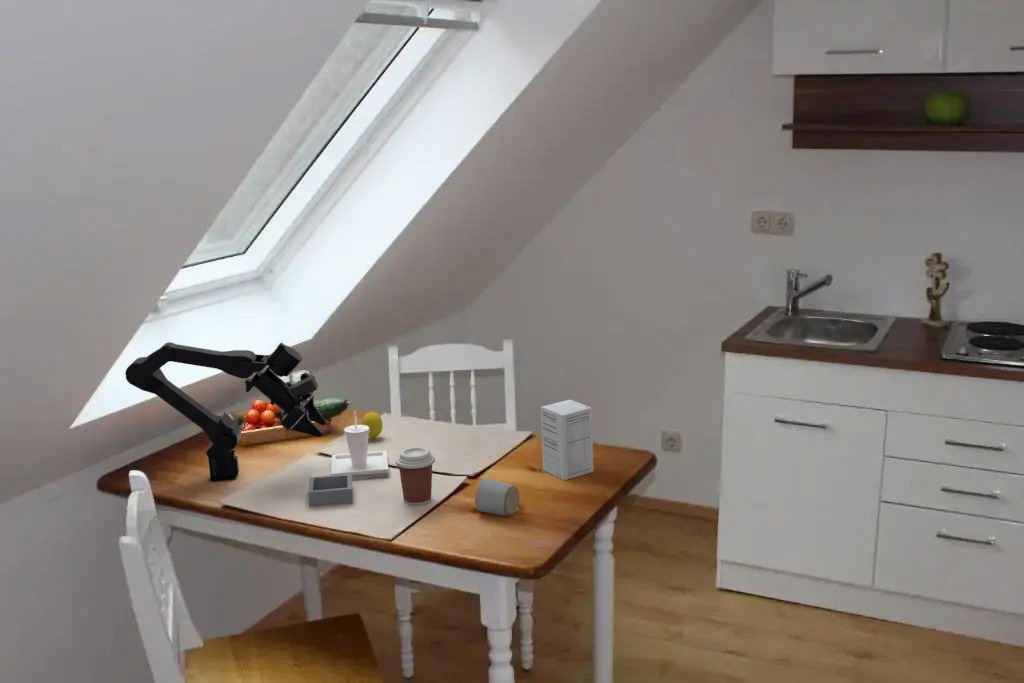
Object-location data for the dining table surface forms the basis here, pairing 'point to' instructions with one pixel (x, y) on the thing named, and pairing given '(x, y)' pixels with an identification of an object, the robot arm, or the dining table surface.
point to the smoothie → (357, 443)
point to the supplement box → (567, 439)
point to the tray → (373, 469)
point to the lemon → (373, 424)
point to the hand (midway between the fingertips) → (323, 429)
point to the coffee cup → (416, 475)
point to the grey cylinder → (497, 497)
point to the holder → (330, 490)
